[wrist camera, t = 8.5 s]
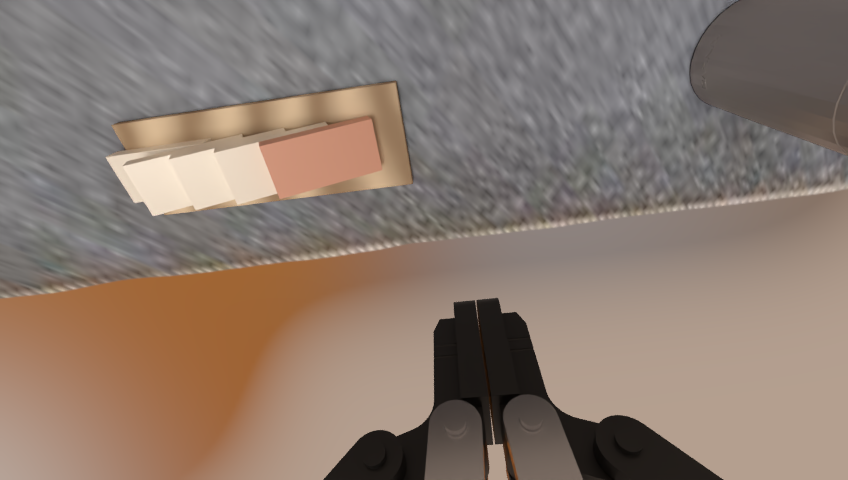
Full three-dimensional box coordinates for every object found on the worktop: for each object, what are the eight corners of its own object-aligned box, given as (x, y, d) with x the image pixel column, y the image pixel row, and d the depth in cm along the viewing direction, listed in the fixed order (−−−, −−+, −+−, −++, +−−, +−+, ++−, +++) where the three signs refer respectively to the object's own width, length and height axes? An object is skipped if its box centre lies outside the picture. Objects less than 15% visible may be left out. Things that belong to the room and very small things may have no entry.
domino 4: (328, 125, 34) (213, 153, 31) (342, 175, 37) (237, 204, 34) (325, 121, 35) (214, 148, 33) (338, 170, 38) (237, 198, 35)
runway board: (396, 80, 34) (395, 82, 33) (413, 179, 39) (412, 183, 39) (118, 122, 36) (111, 125, 36) (170, 210, 42) (164, 214, 41)
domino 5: (371, 118, 34) (259, 146, 31) (382, 170, 36) (279, 199, 34) (367, 115, 35) (258, 141, 32) (378, 165, 37) (278, 193, 35)
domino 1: (202, 143, 35) (105, 157, 36) (224, 190, 37) (134, 202, 38) (210, 138, 36) (117, 151, 37) (231, 184, 39) (144, 195, 40)
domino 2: (241, 137, 34) (122, 166, 32) (262, 186, 37) (153, 216, 35) (242, 133, 36) (127, 161, 33) (261, 180, 38) (156, 209, 36)
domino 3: (285, 131, 34) (168, 159, 32) (302, 180, 37) (195, 210, 34) (283, 127, 35) (171, 154, 33) (300, 175, 38) (197, 203, 36)
